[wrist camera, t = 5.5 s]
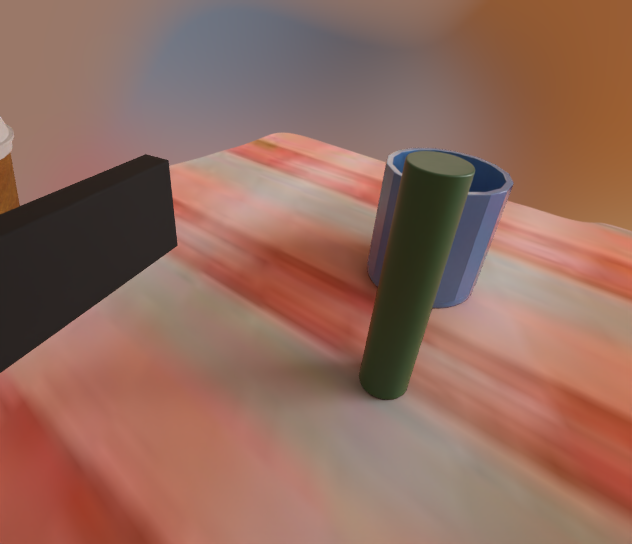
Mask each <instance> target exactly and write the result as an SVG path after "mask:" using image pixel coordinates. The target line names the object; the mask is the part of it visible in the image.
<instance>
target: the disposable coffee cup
mask: <svg viewBox="0 0 632 544" xmlns="http://www.w3.org/2000/svg"><path fill="white" fill-rule="evenodd" d="M13 139H14V134H13V129H12V128H11V127H10V126H8V125H7V124H5V123H4V122H3V120H2V118H1V116H0V214H2V213H5V212H7V211H10V210H12V209H14V208H17V207H19V206H20V205H19V199H18V194H17V188H16V182H15V177H14V171H13V166H12V159H11V153H10V152H11V150H12V147H13V146H12V140H13Z"/></svg>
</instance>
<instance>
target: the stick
mask: <svg viewBox="0 0 632 544" xmlns="http://www.w3.org/2000/svg"><path fill="white" fill-rule="evenodd" d="M474 174H475V167H474V166H473V165H472V164H471V163H470V162H468V161H466V160H464V159H462V158H460V157H457V156H454V155H451V154H447V153H442V152H435V151H418V152H413V153H410V154H408V155H407V156H406V158H405V163H404V167H403V172H402V177H401V181H400V186H399V191H398V195H397V200H396V205H395V209H394V214H393V219H392V224H391V228H390V233H389V238H388V242H387V247H386V252H385V256H384V261H383V266H382V270H381V275H380V280H379V285H378V289H377V294H376V299H375V303H374V308H373V313H372V317H371V322H370V327H369V331H368V336H367V341H366V346H365V350H364V355H363V360H362V364H361V369H360V374H359V379H360V382H361V385H362V386H363V388H364V389H365V390H366V391H367V392H368V393H369V394H371V395H373V396H375V397H377V398H380V399H387V400H390V399H395V398H398V397H400V396H402V395H403V394H404V393H405V391H406V390H407V387H408V383H409V380H410V377H411V374H412V371H413V368H414V364H415V361H416V358H417V355H418V352H419V348H420V345H421V342H422V339H423V336H424V333H425V329H426V326H427V323H428V320H429V317H430V313H431V310H432V307H433V304H434V301H435V298H436V294H437V291H438V288H439V285H440V282H441V279H442V275H443V272H444V269H445V266H446V263H447V259H448V256H449V253H450V250H451V247H452V244H453V240H454V237H455V234H456V231H457V228H458V224H459V221H460V218H461V215H462V212H463V209H464V205H465V202H466V199H467V196H468V193H469V189H470V186H471V183H472V180H473V177H474Z"/></svg>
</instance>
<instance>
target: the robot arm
mask: <svg viewBox="0 0 632 544" xmlns="http://www.w3.org/2000/svg"><path fill="white" fill-rule="evenodd" d="M176 246H177V236H176V227H175V218H174V208H173V199H172V190H171V180H170V171H169V163H168V160H165V159H161V158H158V157H154V156H150V155H143V156H141V157H138V158H136V159H133V160H131V161H129V162H126V163H124V164H121V165H119V166H116V167H114V168H112V169H109V170H107V171H104V172H102V173H99V174H97V175H95V176H93V177H90V178H87V179H85V180H82V181H80V182H78V183H75V184H73V185H70V186H68V187H65V188H63V189H61V190H58V191H56V192H53V193H51V194H48V195H46V196H44V197H41V198H39V199H36V200H34V201H32V202H29V203H27V204H24V205H22V206H19V207H17V208H14V209H12V210H10V211H7V212H5V213H2V214H0V373H1V372H2V371H4V370H5V369H6V368H8V367H9V366H11V365H12V364H13V363H15V362H16V361H18V360H19V359H20V358H22V357H23V356H25V355H26V354H27V353H29V352H30V351H32V350H33V349H34V348H36V347H37V346H38V345H40V344H41V343H43V342H44V341H45V340H47V339H48V338H50V337H51V336H52V335H54V334H55V333H57V332H58V331H59V330H61V329H62V328H64V327H65V326H66V325H68V324H69V323H70V322H72V321H73V320H75V319H76V318H77V317H79V316H80V315H82V314H83V313H84V312H86V311H87V310H89V309H90V308H91V307H93V306H94V305H96V304H97V303H98V302H100V301H101V300H102V299H104V298H105V297H107V296H108V295H109V294H111V293H112V292H114V291H115V290H116V289H118V288H119V287H121V286H122V285H123V284H125V283H126V282H127V281H129V280H130V279H132V278H133V277H134V276H136V275H137V274H139V273H140V272H141V271H143V270H144V269H146V268H147V267H148V266H150V265H151V264H153V263H154V262H155V261H157V260H158V259H159V258H161V257H162V256H164V255H165V254H166V253H168V252H169V251H171V250H172V249H173V248H175V247H176Z"/></svg>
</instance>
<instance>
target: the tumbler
mask: <svg viewBox="0 0 632 544" xmlns="http://www.w3.org/2000/svg"><path fill="white" fill-rule="evenodd" d="M418 151H435V152H442V153H447V154H451V155H454V156H457V157H460V158H462V159H464V160H466V161H468V162H470V163H471V164H472V165H473V166H474V167H475V174H474V177H473V180H472V183H471V186H470V189H469V193H468V196H467V199H466V202H465V205H464V209H463V212H462V215H461V218H460V221H459V224H458V228H457V231H456V234H455V237H454V240H453V244H452V247H451V250H450V253H449V256H448V259H447V263H446V266H445V269H444V272H443V275H442V279H441V282H440V285H439V288H438V291H437V294H436V298H435V301H434V304H433V307H432V308H444V307H451V306H455V305H458V304H460V303H462V302H464V301H465V300H466V299H468V298H469V296H470V295H471V293H472V291H473V288H474V287H475V285H476V283H477V280H478V277H479V275H480V272H481V269H482V267H483V264H484V261H485V259H486V256H487V253H488V251H489V248H490V245H491V243H492V240H493V237H494V235H495V232H496V229H497V227H498V224H499V221H500V219H501V216H502V213H503V211H504V208H505V205H506V203H507V200H508V197H509V195H510V192H511V189H512V187H513V181H512V179H511V177H510V175H509V174H508V173H507V172H506V171H504V170H503V169H501V168H500V167H498V166H497V165H495V164H493V163H490V162H488V161H486V160H483V159H481V158H479V157H475V156H472V155H468V154H464V153H460V152H456V151H451V150H443V149H437V148H409V149H403V150H397V151H395V152H394V153H392V154H390V155H388V157H387V162H386V167H385V172H384V177H383V183H382V188H381V193H380V199H379V204H378V209H377V215H376V220H375V225H374V231H373V236H372V241H371V247H370V252H369V257H368V262H367V271H368V274H369V277H370V278H371V280H372V281H373V283H374V284H375V285H376V286H377V287H378V285H379V280H380V275H381V270H382V266H383V261H384V256H385V252H386V247H387V242H388V238H389V233H390V228H391V224H392V219H393V214H394V209H395V205H396V200H397V195H398V191H399V186H400V181H401V177H402V172H403V167H404V163H405V158H406V156H407V155H408V154H410V153H413V152H418Z"/></svg>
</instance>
